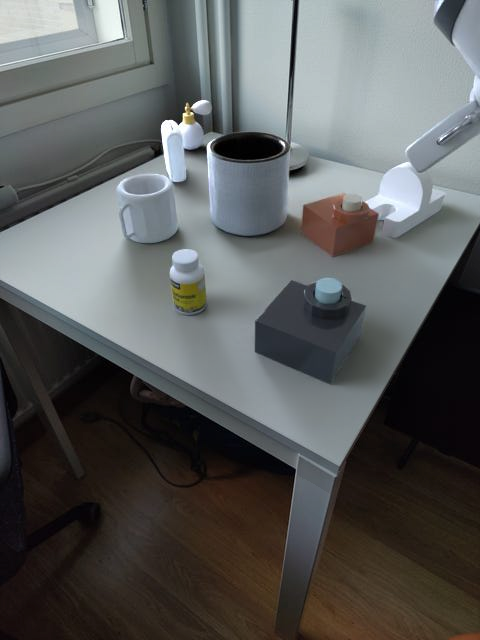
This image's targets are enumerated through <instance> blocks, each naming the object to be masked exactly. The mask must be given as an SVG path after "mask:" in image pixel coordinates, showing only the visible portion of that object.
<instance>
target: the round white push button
mask: <svg viewBox="0 0 480 640" xmlns="http://www.w3.org/2000/svg"><path fill="white" fill-rule="evenodd" d="M346 194H347V195H345V196H344V197H343V203H342V209H343V210H345V211H349V212H357V211H360V210H361V205H362V201H363V197H362V196H361V195H360V194H356V193H346Z"/></svg>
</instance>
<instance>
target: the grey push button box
mask: <svg viewBox="0 0 480 640" xmlns="http://www.w3.org/2000/svg"><path fill="white" fill-rule="evenodd" d="M316 283H317V281H315V282H313V283H309V285H308V284H304V283H302V282H299V281H295V280H293V279H291V280H290V281H289V282H288V283H287V284H286V285H285V287H283V288H282V289H281V291H280V292H279V293H278V294H277V295H276V297H274V299H272V301H271V302H270V303H269V304H268V305H267V307H266V308H265V309H264V310H263V311H262V312H261V313H260V315H259V316H258V317H257V318H256V319H254V353H256V354H258V355H260V356H263V357H265V358H268V359H270V360H272V361H275V362H277V363H279V364H282V365H284V366H286V367H288V368H291V369H293V370H295V371H298V372H300V373H303V374H304V375H307V376H309V377H312V378H314V379H316V380H320V381H321V382H324V383H326V384H328V385H331V384H332V383H333V381H334V380H335V378H336V376H337V374H338V373H339V371H340V370H341V368H342V366H343V365H344V363H345V362H346V361H347V359H348V357H349V355H350V354H351V352H352V351H353V349H354V347H355V345H356V344H357V343H358V340H359V339H360V337H361V333H362V328H363V323H364V319H365V314H366V309H367V305H366V304H364V303H360V302H357V301H354V300H353V298H352V294H351V290H349V289H348V288H347V287H346V286H345V285H344V284H342V292H341V298H340V300H339V301H338V302H337V303H335V304H324V303H321V302H319V301H317V300H316V298H315V288H316Z"/></svg>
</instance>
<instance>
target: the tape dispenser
mask: <svg viewBox="0 0 480 640" xmlns="http://www.w3.org/2000/svg"><path fill="white" fill-rule="evenodd" d="M445 196H446V192H444V191H443V190H441V189H437V188H434V187H433V180H432V177H431V174H430V173H429V171H428V170H426V171H425V172H422V173H418V172H417V171H416V170H415V169H414V168H413V166H412V165H411V163H410V162H409V161H406V162H403V163H401V164H398V165H397V166H394V167H393V168H391V169H389V170H387V171H386V172H385V173H384V174H383V176H382V178H381V181H380V185H379V189H378V193H377V195H375V196H373V197H371V198H369V199H367V200H365V201H364V202H365V203H367V204H368V206H369V208H371V209H372V210H374V211H376V212H377V213H379V215H378V220H377V222H378V221H383V224H382V230H381V234H382V235H384V236H385V237H388V238H392V239H397V238H399V237H400V236H402V235H404V234H405V233H407V232H409V231H410V230H411V229H413V228H414V227H416V226H418V225H419V224H421V223H422V222H424V221H426V220H427V219H429V218H431V217H432V216H433V215H436V214H437V213H439V212H440V211H441V209H442V204H443V202H444V199H445Z"/></svg>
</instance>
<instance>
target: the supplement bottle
mask: <svg viewBox="0 0 480 640" xmlns="http://www.w3.org/2000/svg"><path fill="white" fill-rule="evenodd" d="M199 257H200V256H199V253H198V252H197V251H196V250H194V249H191V248H183V249H179V250H176V251H174V252H173V254H172V256H171V261H172V265H171V267H170V269H169V280H170V288H171V294H172V303H173V307H174V309H175V310H176V311H177V312H178V313H179V314H181V315H185V316H186V315H187V316H191V315H197V314H200V313H201V312H202V311H204V310H205V309H206V307H207V301H208V299H207V288H206V287H207V286H206V277H205V276H206V275H205V268H204V266H203V264H201V263H200V260H199V259H200V258H199Z"/></svg>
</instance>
